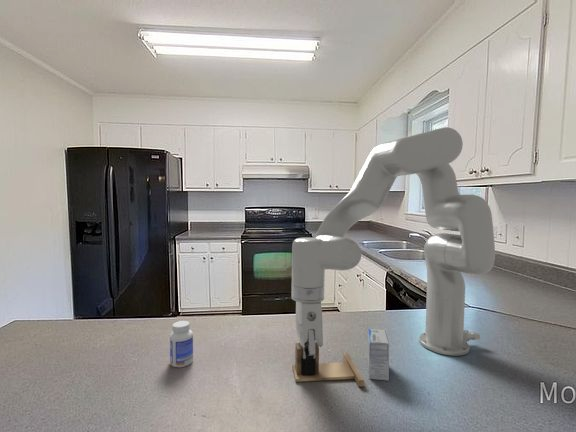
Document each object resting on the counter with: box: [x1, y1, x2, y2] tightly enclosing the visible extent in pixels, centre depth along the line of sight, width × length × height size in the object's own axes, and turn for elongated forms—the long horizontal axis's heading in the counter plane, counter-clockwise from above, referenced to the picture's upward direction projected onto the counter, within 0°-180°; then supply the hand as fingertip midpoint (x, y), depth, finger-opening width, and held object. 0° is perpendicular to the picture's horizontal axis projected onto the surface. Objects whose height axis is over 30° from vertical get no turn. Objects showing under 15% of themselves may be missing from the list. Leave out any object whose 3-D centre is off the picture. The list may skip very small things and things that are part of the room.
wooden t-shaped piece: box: [292, 341, 365, 388], centre depth 71 cm, size 15×12×7 cm
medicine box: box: [366, 328, 390, 382], centre depth 72 cm, size 8×4×9 cm, turn 168°
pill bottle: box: [169, 320, 194, 368], centre depth 75 cm, size 5×5×10 cm
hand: (306, 369), depth 71 cm, fingers closed on wooden t-shaped piece, 3 cm apart
